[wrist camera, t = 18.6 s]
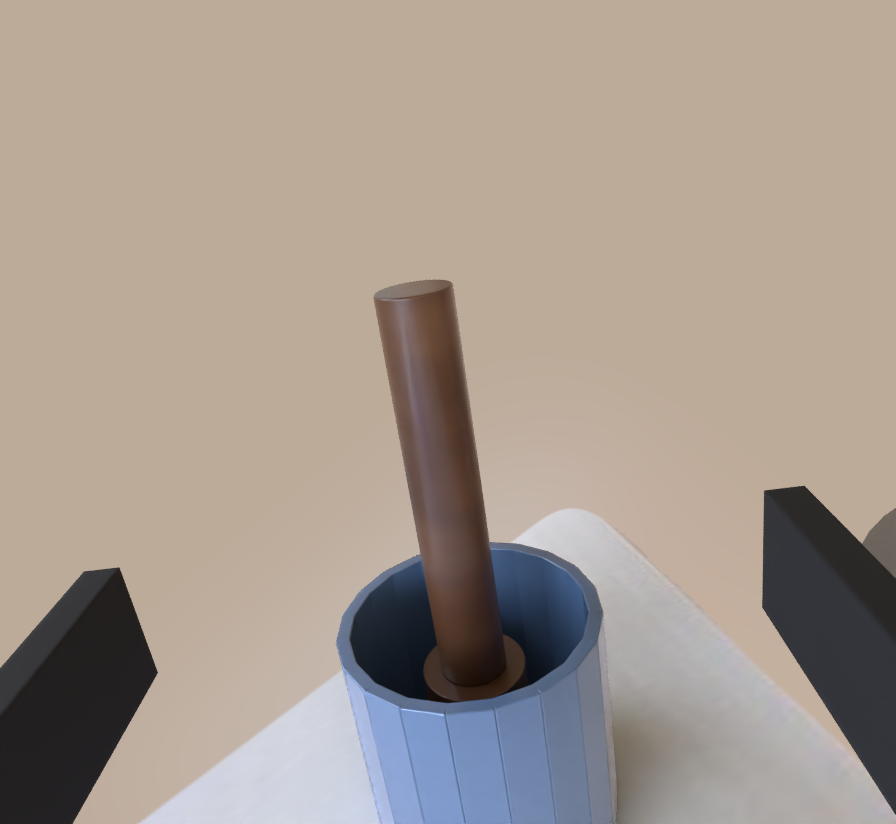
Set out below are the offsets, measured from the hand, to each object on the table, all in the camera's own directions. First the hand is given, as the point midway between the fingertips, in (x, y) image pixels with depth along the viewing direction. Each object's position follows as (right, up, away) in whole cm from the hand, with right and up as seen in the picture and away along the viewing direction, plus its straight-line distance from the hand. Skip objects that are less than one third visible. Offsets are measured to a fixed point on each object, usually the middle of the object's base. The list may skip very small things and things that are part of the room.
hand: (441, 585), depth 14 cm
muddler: (+2, -11, +14) cm, 18 cm away
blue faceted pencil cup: (+2, -12, +14) cm, 19 cm away
